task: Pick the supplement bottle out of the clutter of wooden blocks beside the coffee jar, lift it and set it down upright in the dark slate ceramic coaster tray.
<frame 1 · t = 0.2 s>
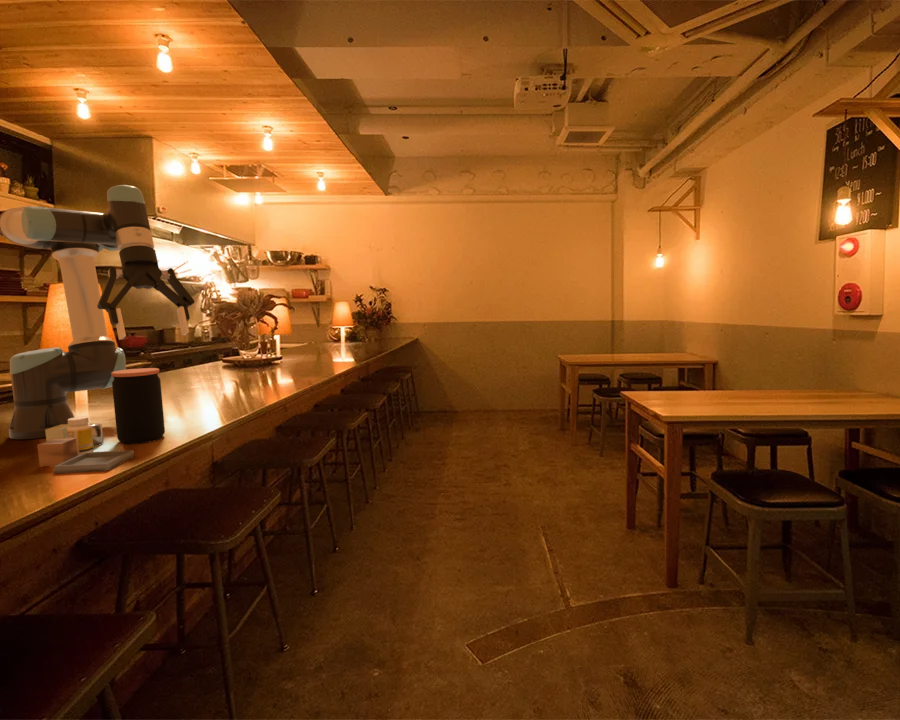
hand: (155, 335, 123), 27 cm above the worktop, tool tilted 20°, fingers open, 13 cm apart
walnut block: (59, 463, 117), on the worktop
sage block: (63, 446, 132), on the worktop
slate tray: (96, 464, 114), on the worktop
chrome cylinder: (93, 444, 132), on the worktop
coffee jar: (142, 440, 136), on the worktop
supplement bottle: (81, 453, 125), on the worktop
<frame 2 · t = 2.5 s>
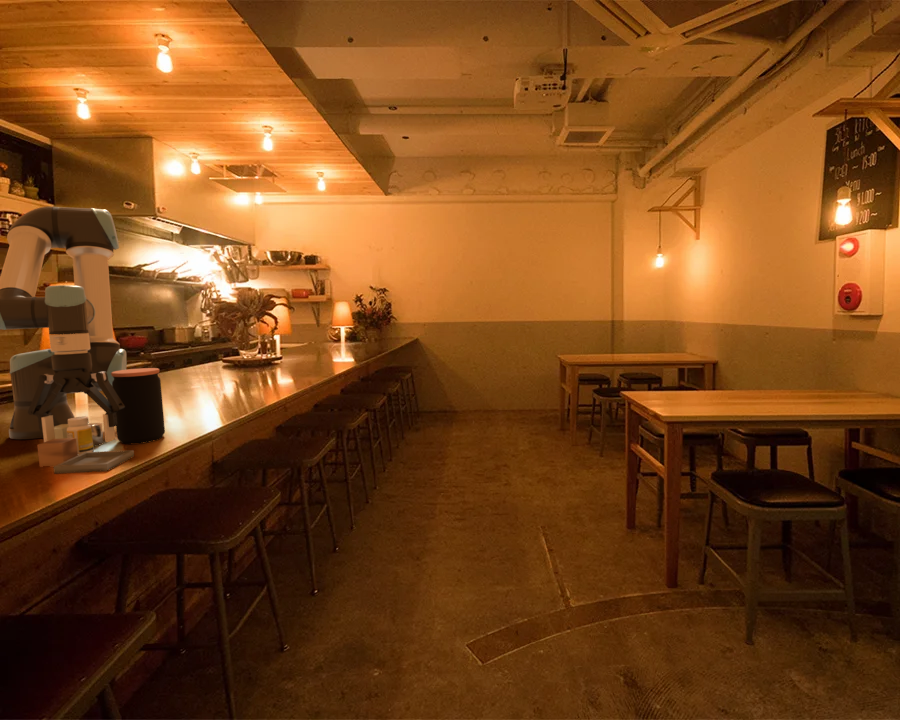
hand: (80, 442, 124), 3 cm above the worktop, tool pointing down, fingers open, 13 cm apart
nothing on the worktop moved.
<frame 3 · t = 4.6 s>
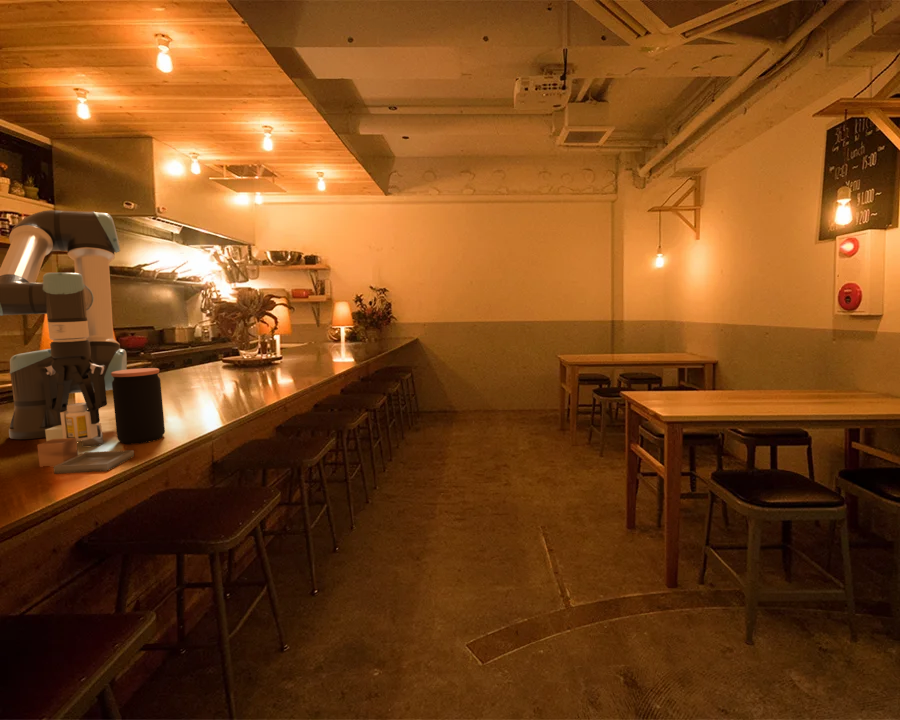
hand: (80, 437, 125), 4 cm above the worktop, tool pointing down, fingers closed on supplement bottle, 5 cm apart
supplement bottle: (81, 439, 125), point 3 cm above the worktop, touching gripper
everything else where it was.
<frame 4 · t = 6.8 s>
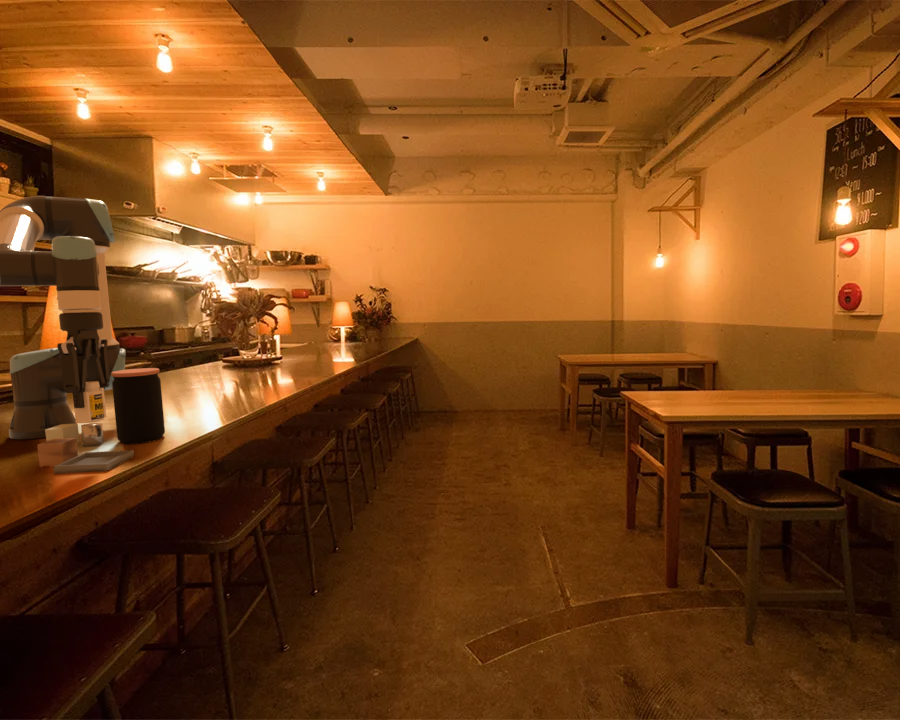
hand: (91, 419, 113), 10 cm above the worktop, tool pointing down, fingers closed on supplement bottle, 5 cm apart
supplement bottle: (91, 422, 113), point 9 cm above the worktop, touching gripper
everything else where it was.
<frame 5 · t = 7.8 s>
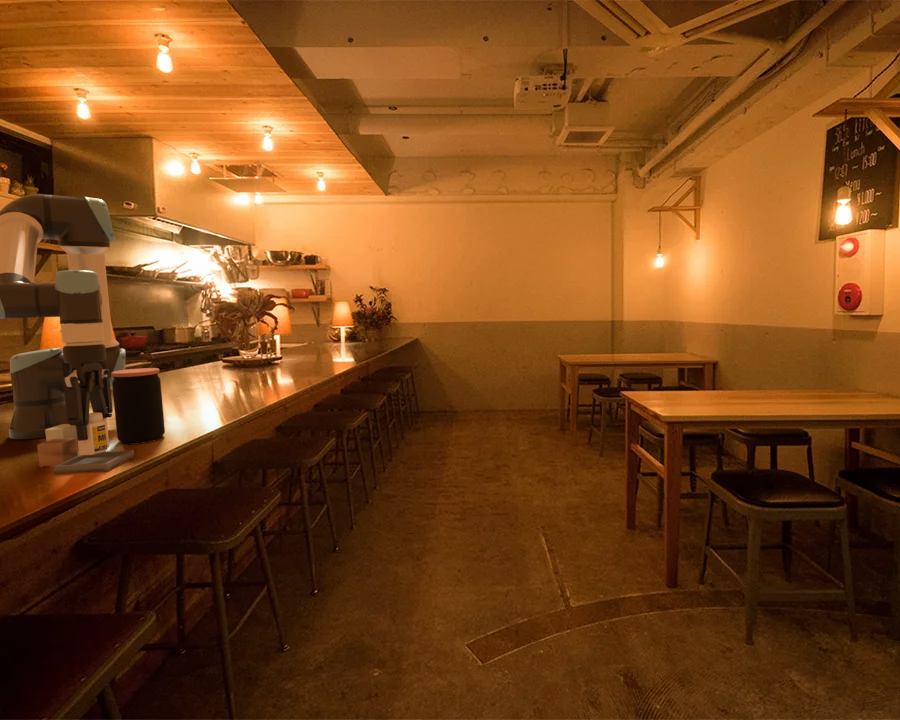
hand: (94, 450, 114), 3 cm above the worktop, tool pointing down, fingers closed on supplement bottle, 5 cm apart
supplement bottle: (94, 453, 114), point 3 cm above the worktop, touching gripper
everything else where it was.
when the fingers open (1 cm above the worktop, at t = 8.8 s): supplement bottle stays where it is, resting on slate tray.
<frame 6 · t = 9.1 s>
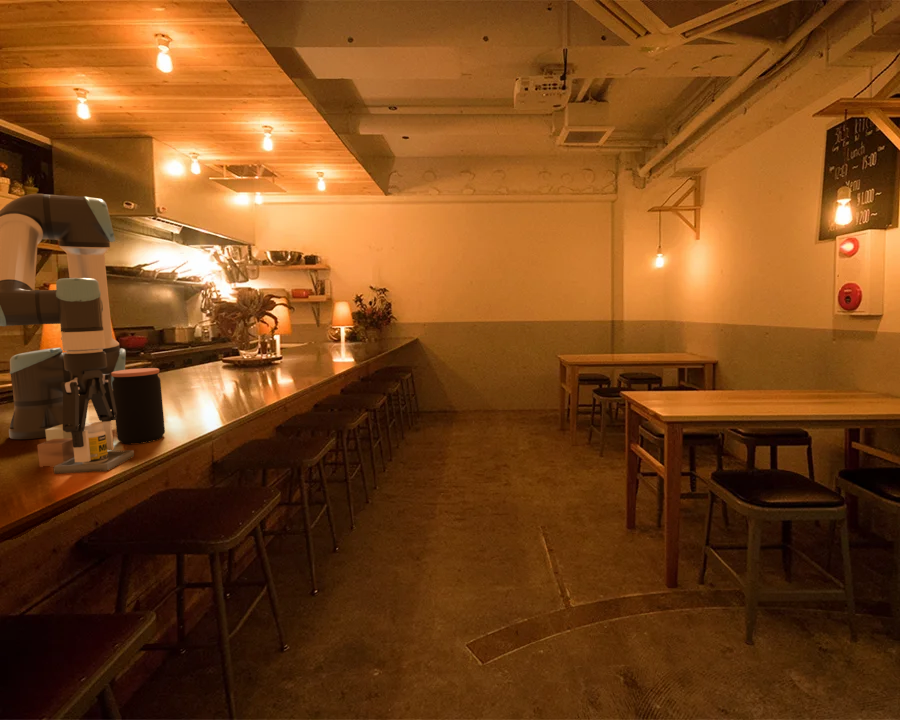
hand: (95, 455, 114), 2 cm above the worktop, tool pointing down, fingers open, 8 cm apart
supplement bottle: (95, 462, 114), resting on slate tray
everything else where it was.
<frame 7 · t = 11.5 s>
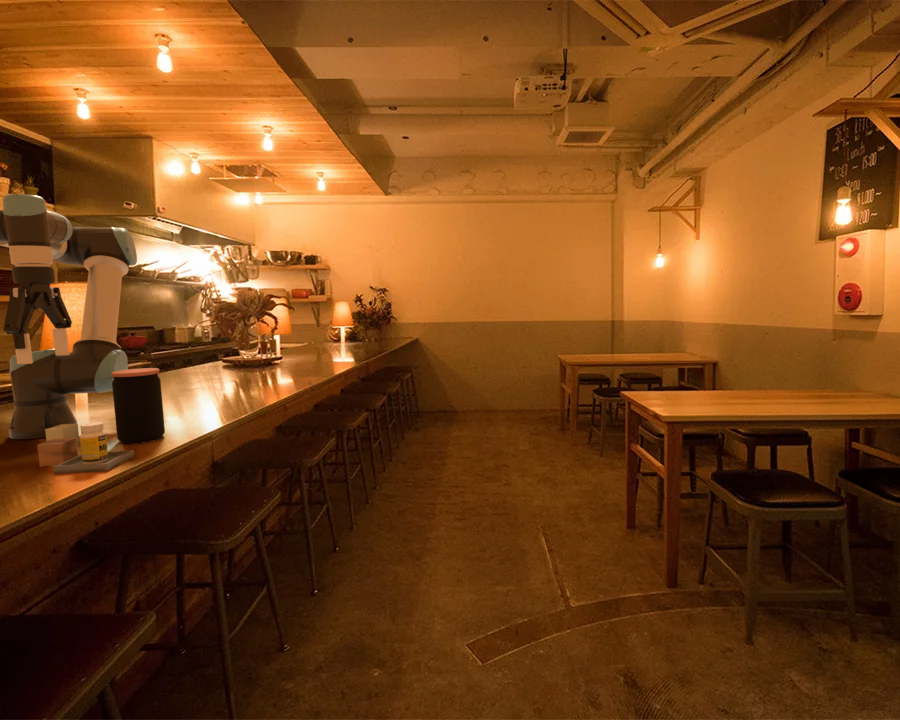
hand: (44, 359, 122), 23 cm above the worktop, tool pointing down, fingers open, 13 cm apart
nothing on the worktop moved.
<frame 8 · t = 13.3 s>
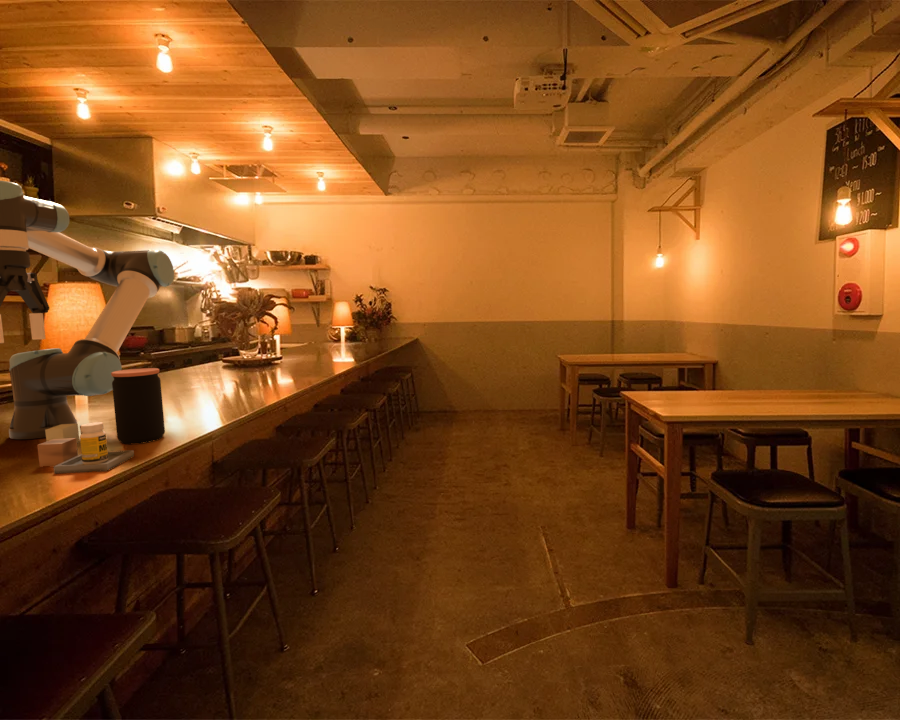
hand: (18, 341, 125), 27 cm above the worktop, tool pointing down, fingers open, 13 cm apart
nothing on the worktop moved.
at the end: supplement bottle inside the target area on the slate tray (0.1 cm from its centre), point 0.4 cm above the slate tray's base; supplement bottle tilted 0°; the gripper is holding nothing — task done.
